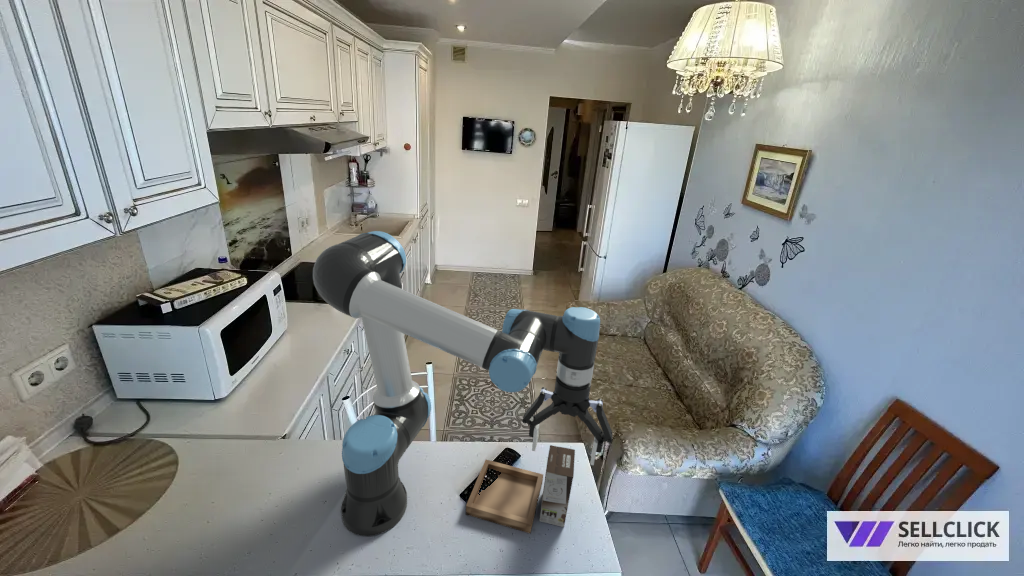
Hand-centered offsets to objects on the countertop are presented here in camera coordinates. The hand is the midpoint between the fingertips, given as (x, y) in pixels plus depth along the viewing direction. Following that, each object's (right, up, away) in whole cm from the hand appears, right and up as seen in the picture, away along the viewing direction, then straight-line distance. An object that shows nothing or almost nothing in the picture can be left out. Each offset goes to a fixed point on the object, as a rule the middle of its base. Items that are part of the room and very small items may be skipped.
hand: (563, 453), depth 95 cm
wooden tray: (-13, -15, +9) cm, 22 cm away
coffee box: (-1, -17, +7) cm, 19 cm away
